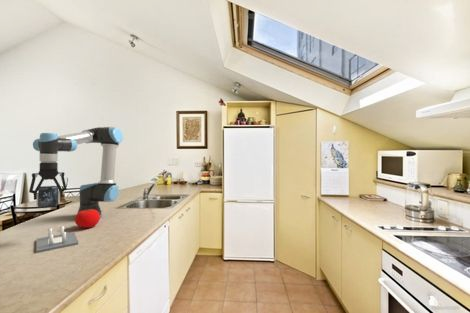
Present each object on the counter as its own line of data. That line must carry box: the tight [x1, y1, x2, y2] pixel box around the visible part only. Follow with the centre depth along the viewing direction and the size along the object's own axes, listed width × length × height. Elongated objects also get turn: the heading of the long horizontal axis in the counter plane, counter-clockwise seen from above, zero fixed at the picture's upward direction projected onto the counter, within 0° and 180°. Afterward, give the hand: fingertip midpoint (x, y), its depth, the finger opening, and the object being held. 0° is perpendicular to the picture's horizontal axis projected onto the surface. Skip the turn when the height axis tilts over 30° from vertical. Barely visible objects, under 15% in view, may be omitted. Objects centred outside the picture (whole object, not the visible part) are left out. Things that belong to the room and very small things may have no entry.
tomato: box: [74, 209, 101, 229], centre depth 144 cm, size 12×13×11 cm
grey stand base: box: [35, 225, 79, 254], centre depth 119 cm, size 16×20×6 cm
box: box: [37, 185, 59, 209], centre depth 125 cm, size 8×6×11 cm
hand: (48, 204), depth 125 cm, fingers closed on box, 8 cm apart
